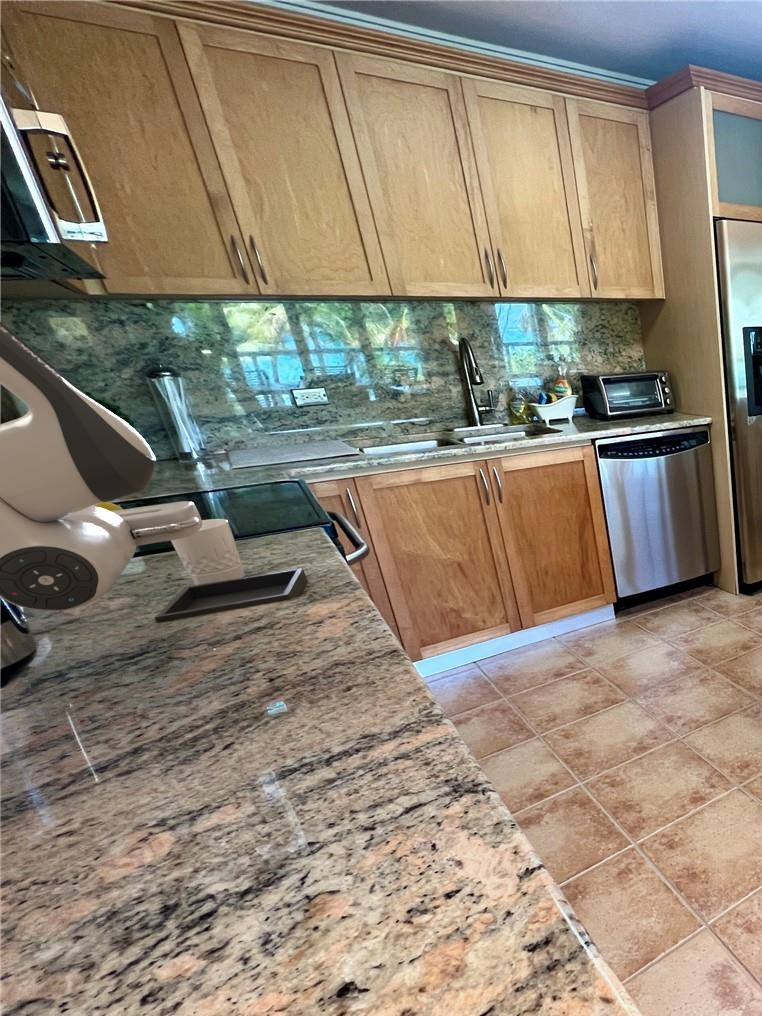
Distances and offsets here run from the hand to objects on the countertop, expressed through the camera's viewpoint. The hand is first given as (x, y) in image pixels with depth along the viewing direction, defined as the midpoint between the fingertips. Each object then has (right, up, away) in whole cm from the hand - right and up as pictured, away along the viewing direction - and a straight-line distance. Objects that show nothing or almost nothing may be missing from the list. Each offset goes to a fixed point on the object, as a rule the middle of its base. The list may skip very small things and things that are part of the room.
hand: (103, 519), depth 85 cm
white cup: (-8, -7, +26) cm, 29 cm away
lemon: (+1, -5, +1) cm, 5 cm away
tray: (+5, -11, +16) cm, 20 cm away
